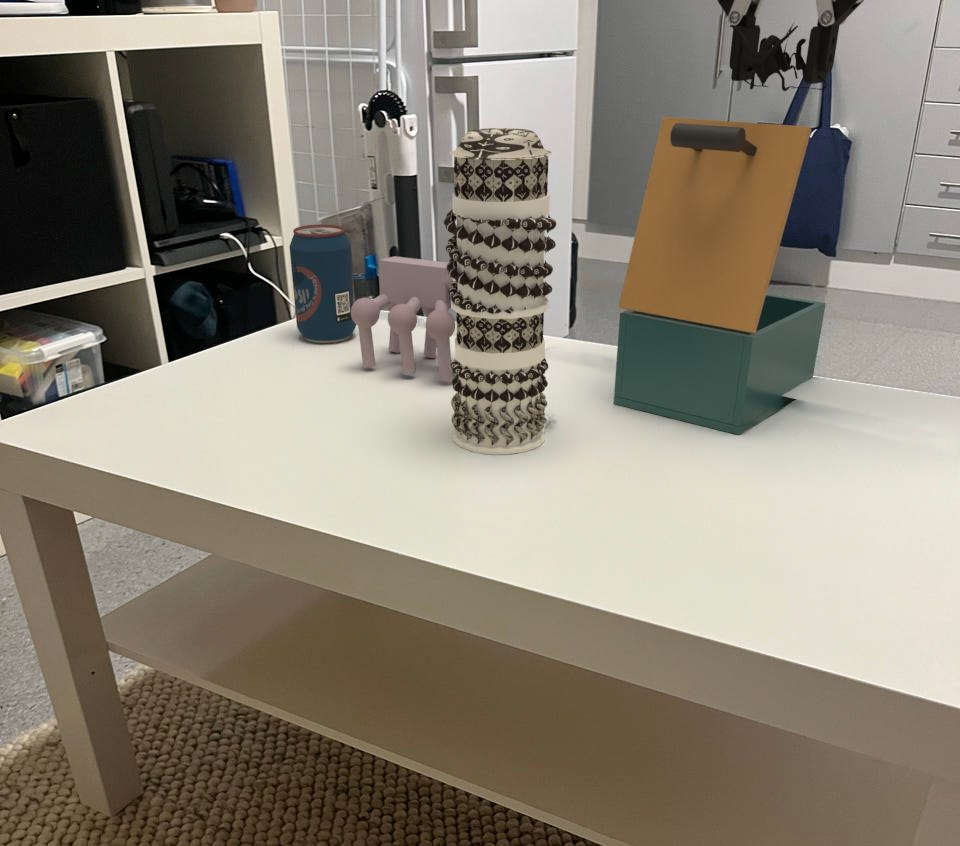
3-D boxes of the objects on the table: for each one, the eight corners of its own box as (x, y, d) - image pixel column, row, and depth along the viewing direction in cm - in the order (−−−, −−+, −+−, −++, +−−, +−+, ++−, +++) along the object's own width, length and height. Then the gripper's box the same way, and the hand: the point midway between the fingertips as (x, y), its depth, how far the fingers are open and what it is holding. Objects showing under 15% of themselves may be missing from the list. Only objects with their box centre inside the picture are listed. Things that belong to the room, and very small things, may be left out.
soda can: (286, 336, 120) (275, 229, 113) (332, 325, 124) (324, 221, 118) (322, 348, 116) (312, 237, 109) (369, 336, 120) (362, 228, 113)
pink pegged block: (556, 371, 108) (561, 237, 101) (511, 400, 101) (513, 257, 93) (398, 346, 116) (392, 220, 109) (345, 371, 109) (335, 237, 101)
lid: (666, 119, 90) (638, 100, 86) (811, 129, 83) (788, 109, 79) (622, 308, 95) (592, 300, 91) (755, 333, 88) (730, 325, 84)
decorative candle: (460, 460, 87) (455, 139, 74) (439, 423, 95) (431, 126, 82) (561, 451, 89) (574, 136, 76) (533, 416, 97) (541, 123, 83)
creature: (755, 98, 90) (708, 81, 85) (771, 30, 88) (724, 7, 83) (836, 103, 86) (792, 85, 80) (855, 31, 84) (811, 6, 78)
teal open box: (691, 366, 110) (700, 282, 105) (810, 391, 103) (826, 302, 98) (613, 403, 100) (619, 312, 95) (739, 435, 92) (753, 338, 88)
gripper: (948, -201, 73) (895, 82, 83) (732, -178, 83) (707, 75, 92) (913, -216, 68) (861, 88, 78) (687, -189, 78) (665, 80, 87)
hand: (778, 78), depth 85 cm, fingers closed on creature, 5 cm apart
